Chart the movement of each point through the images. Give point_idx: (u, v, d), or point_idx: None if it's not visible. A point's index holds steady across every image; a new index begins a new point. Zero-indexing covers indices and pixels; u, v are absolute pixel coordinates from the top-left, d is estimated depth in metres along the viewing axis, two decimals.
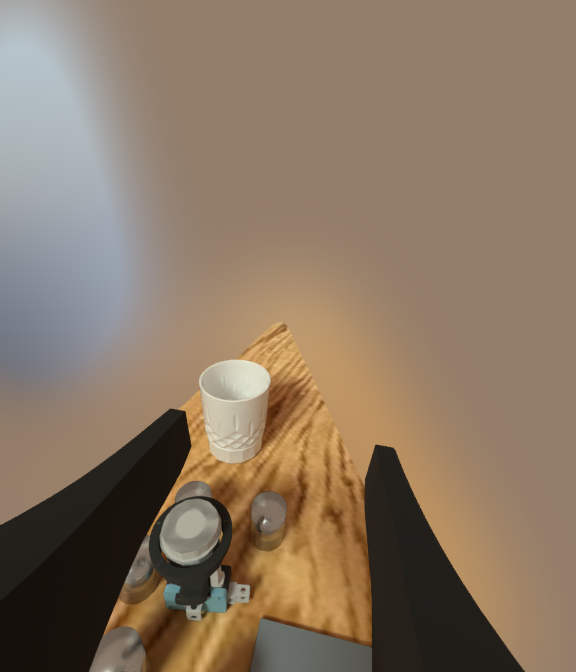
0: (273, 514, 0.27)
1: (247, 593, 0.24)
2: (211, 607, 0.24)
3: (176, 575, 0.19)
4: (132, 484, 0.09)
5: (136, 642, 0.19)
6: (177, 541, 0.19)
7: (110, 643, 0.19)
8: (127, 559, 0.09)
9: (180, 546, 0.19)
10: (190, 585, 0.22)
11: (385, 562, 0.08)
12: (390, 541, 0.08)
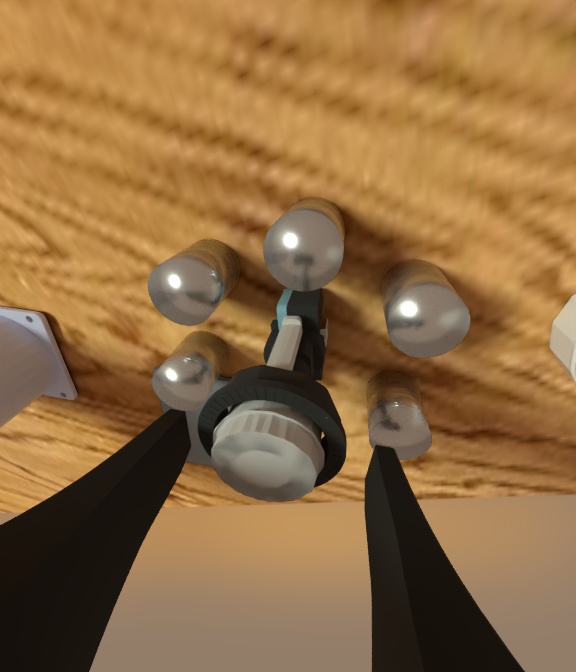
0: (387, 444, 0.17)
1: None
2: None
3: (203, 436, 0.11)
4: (132, 484, 0.09)
5: (203, 314, 0.15)
6: (227, 457, 0.10)
7: (192, 283, 0.14)
8: (127, 559, 0.09)
9: (221, 461, 0.10)
10: None
11: (385, 562, 0.08)
12: (390, 541, 0.08)
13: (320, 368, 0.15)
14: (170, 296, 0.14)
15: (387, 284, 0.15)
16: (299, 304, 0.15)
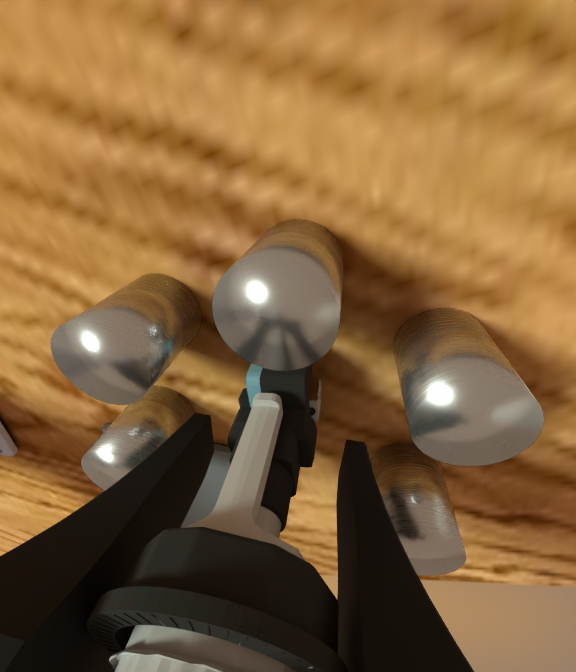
0: None
1: None
2: None
3: (102, 641, 0.07)
4: (163, 491, 0.09)
5: (135, 392, 0.10)
6: None
7: (113, 351, 0.09)
8: None
9: None
10: None
11: (347, 554, 0.08)
12: (351, 533, 0.08)
13: (309, 464, 0.11)
14: (85, 367, 0.10)
15: (404, 345, 0.11)
16: (278, 374, 0.11)
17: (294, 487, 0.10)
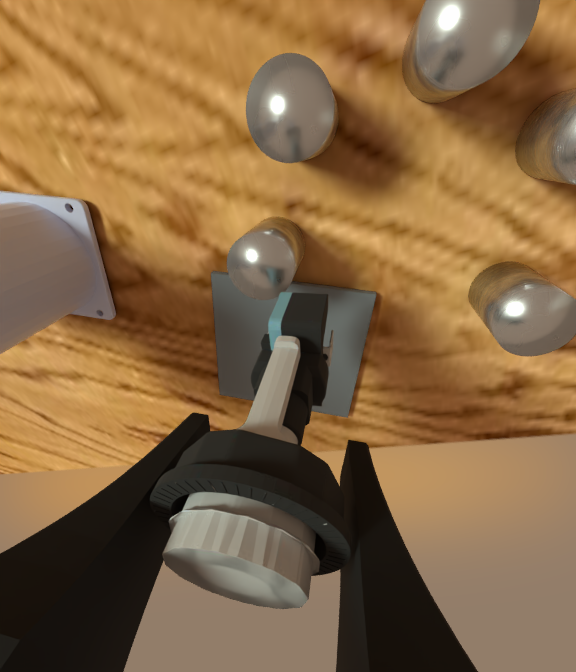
0: (518, 334, 0.14)
1: None
2: None
3: (159, 514, 0.08)
4: None
5: (314, 142, 0.11)
6: (184, 563, 0.07)
7: (308, 89, 0.11)
8: (155, 566, 0.09)
9: (177, 565, 0.07)
10: None
11: None
12: (354, 533, 0.08)
13: (321, 400, 0.12)
14: (274, 115, 0.11)
15: (540, 117, 0.12)
16: (297, 320, 0.12)
17: (308, 417, 0.11)
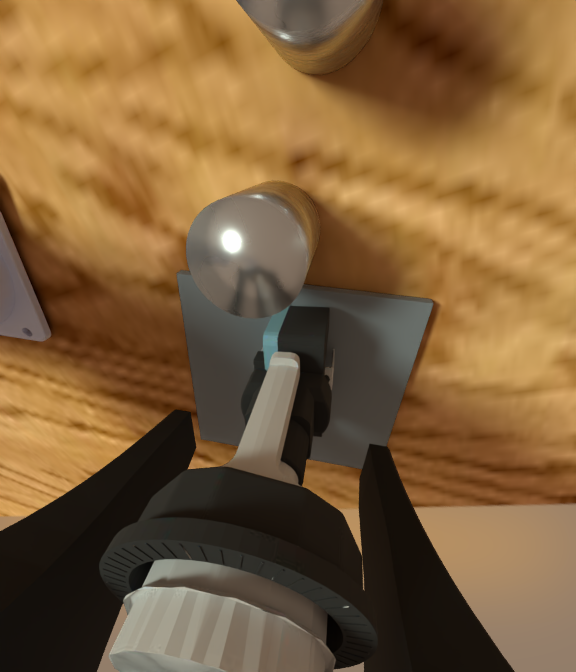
0: None
1: None
2: None
3: (112, 586, 0.06)
4: (138, 485, 0.09)
5: None
6: (140, 669, 0.05)
7: None
8: None
9: (130, 669, 0.05)
10: None
11: (377, 560, 0.08)
12: (382, 539, 0.08)
13: (323, 430, 0.10)
14: None
15: None
16: (297, 335, 0.10)
17: (309, 449, 0.10)
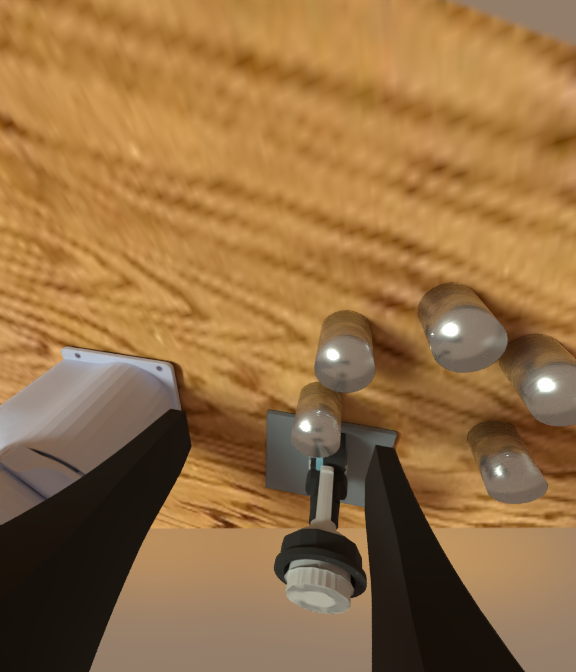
0: (503, 491, 0.19)
1: None
2: None
3: (276, 568, 0.18)
4: (132, 484, 0.09)
5: (360, 385, 0.17)
6: (296, 591, 0.17)
7: (358, 361, 0.16)
8: (127, 559, 0.09)
9: (292, 592, 0.17)
10: None
11: (385, 562, 0.08)
12: (390, 541, 0.08)
13: (344, 499, 0.22)
14: (334, 370, 0.17)
15: (514, 356, 0.18)
16: (332, 456, 0.22)
17: None
